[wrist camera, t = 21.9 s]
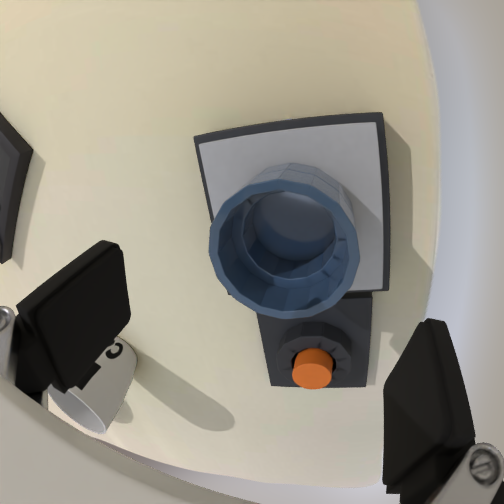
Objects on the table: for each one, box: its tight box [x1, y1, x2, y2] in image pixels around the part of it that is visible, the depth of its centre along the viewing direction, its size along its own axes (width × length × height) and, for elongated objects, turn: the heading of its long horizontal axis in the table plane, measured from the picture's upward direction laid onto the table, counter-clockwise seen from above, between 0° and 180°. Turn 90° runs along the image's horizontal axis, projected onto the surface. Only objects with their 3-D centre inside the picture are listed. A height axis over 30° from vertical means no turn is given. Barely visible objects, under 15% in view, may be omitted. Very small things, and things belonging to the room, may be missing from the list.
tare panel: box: [256, 292, 372, 388], centre depth 24 cm, size 10×9×3 cm
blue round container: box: [209, 163, 360, 319], centre depth 16 cm, size 7×7×5 cm
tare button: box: [292, 348, 333, 389], centre depth 23 cm, size 3×3×2 cm
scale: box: [194, 112, 390, 295], centre depth 20 cm, size 12×12×3 cm
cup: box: [48, 337, 137, 434], centre depth 30 cm, size 8×8×10 cm
